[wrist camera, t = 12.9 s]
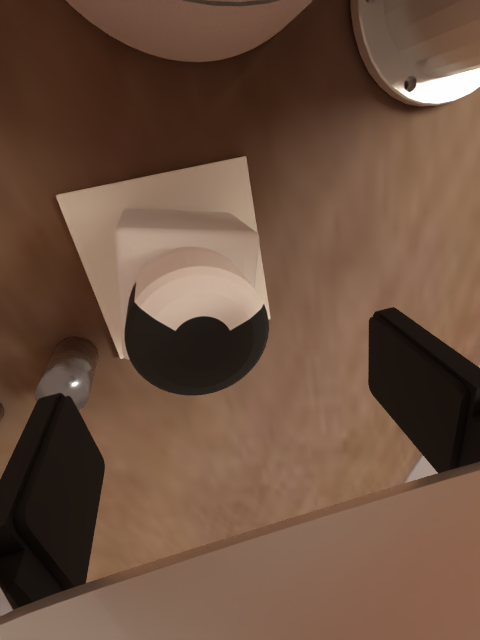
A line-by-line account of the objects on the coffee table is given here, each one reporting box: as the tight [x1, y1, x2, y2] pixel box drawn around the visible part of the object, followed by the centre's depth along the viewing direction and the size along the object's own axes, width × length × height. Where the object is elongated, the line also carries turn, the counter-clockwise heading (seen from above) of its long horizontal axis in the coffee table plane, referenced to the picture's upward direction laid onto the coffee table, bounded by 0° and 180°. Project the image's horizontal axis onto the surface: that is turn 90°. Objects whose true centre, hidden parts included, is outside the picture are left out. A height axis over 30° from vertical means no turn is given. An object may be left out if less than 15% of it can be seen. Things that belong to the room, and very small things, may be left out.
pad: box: [55, 156, 271, 359], centre depth 25 cm, size 12×12×1 cm
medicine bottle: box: [114, 208, 269, 395], centre depth 19 cm, size 7×7×12 cm
